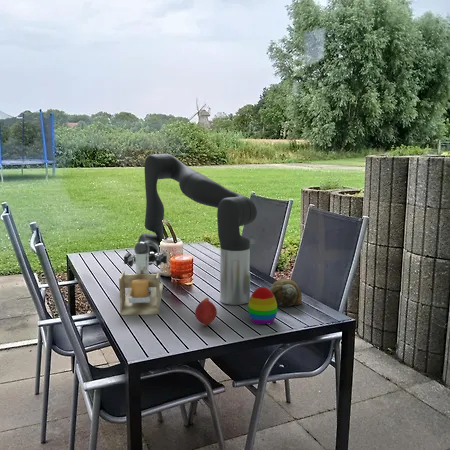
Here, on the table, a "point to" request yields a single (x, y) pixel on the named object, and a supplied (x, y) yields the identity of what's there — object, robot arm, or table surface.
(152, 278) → the frame
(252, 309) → the decorative egg
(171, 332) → the table surface
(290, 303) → the seashell
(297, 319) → the table surface
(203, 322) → the onion
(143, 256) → the shaft
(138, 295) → the rounded orange object
